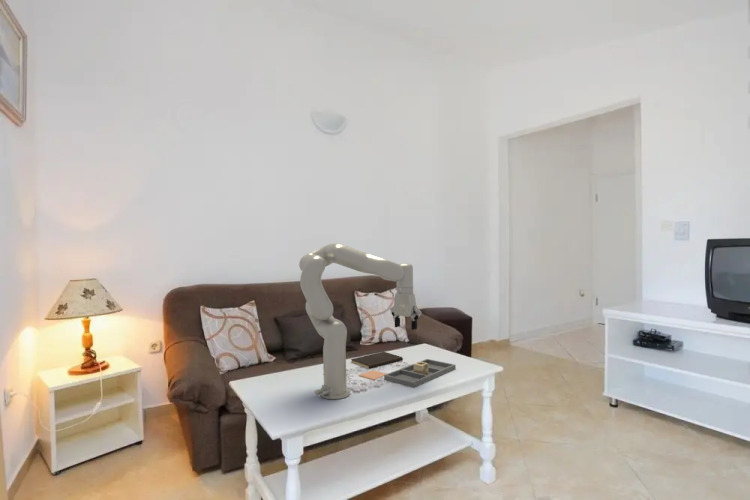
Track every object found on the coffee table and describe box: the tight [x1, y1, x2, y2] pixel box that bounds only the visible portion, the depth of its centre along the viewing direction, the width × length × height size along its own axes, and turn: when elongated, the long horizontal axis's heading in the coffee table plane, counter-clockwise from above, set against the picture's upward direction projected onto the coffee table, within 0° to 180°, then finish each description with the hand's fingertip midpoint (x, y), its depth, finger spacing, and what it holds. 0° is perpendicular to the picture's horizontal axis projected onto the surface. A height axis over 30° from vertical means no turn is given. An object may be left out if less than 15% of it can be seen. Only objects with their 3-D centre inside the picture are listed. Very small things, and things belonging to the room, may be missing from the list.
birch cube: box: [413, 361, 428, 375], centre depth 197 cm, size 5×5×5 cm
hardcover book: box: [350, 351, 404, 370], centre depth 221 cm, size 16×23×2 cm
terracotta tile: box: [358, 369, 388, 381], centre depth 197 cm, size 10×10×1 cm
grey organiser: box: [383, 358, 457, 389], centre depth 197 cm, size 34×17×2 cm, turn 137°
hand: (405, 328), depth 188 cm, fingers open, 9 cm apart
